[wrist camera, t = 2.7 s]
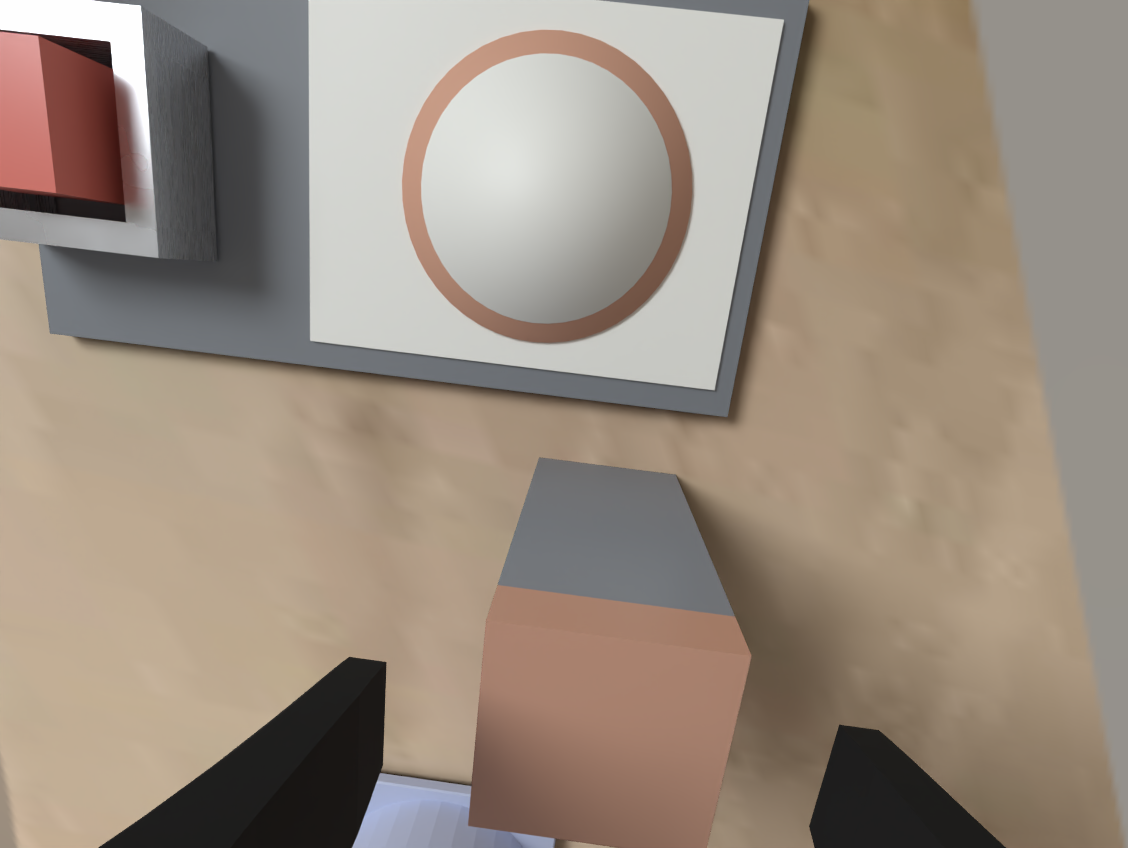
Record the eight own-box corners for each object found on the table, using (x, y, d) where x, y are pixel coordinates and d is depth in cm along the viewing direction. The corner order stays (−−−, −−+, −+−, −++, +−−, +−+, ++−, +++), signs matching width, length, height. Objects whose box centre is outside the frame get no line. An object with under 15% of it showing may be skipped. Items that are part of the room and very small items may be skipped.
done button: (136, 206, 13) (55, 192, 11) (23, 193, 13) (-76, 177, 11) (126, 74, 12) (38, 36, 10) (6, 61, 12) (-104, 20, 10)
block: (654, 595, 17) (703, 860, 9) (526, 578, 17) (467, 825, 9) (675, 474, 16) (752, 656, 8) (539, 457, 16) (485, 620, 8)
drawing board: (723, 412, 15) (729, 419, 15) (66, 332, 16) (42, 333, 15) (803, -1, 13) (815, -18, 12) (18, -82, 13) (-15, -102, 13)
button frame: (216, 261, 14) (158, 257, 12) (34, 239, 15) (-51, 233, 13) (207, 46, 13) (140, 5, 11) (7, 25, 13) (-93, -19, 11)
